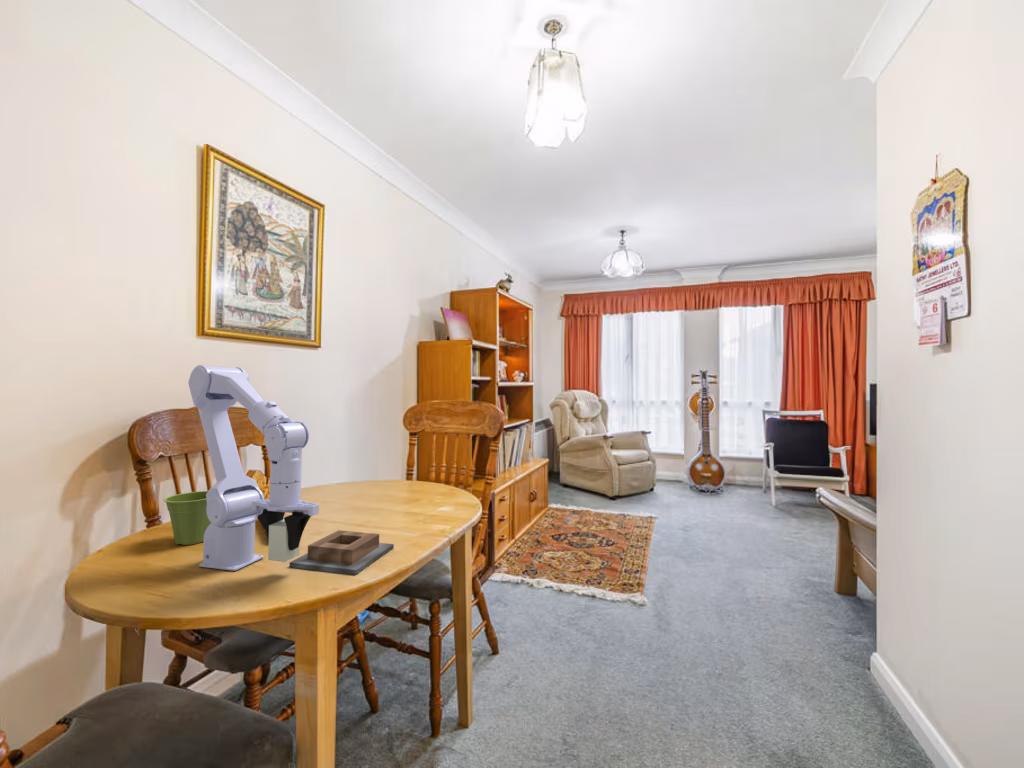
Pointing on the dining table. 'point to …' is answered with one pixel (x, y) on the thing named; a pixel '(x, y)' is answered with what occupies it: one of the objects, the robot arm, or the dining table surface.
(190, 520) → the plant pot
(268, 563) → the dining table surface
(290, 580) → the dining table surface
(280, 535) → the peg
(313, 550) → the socket
